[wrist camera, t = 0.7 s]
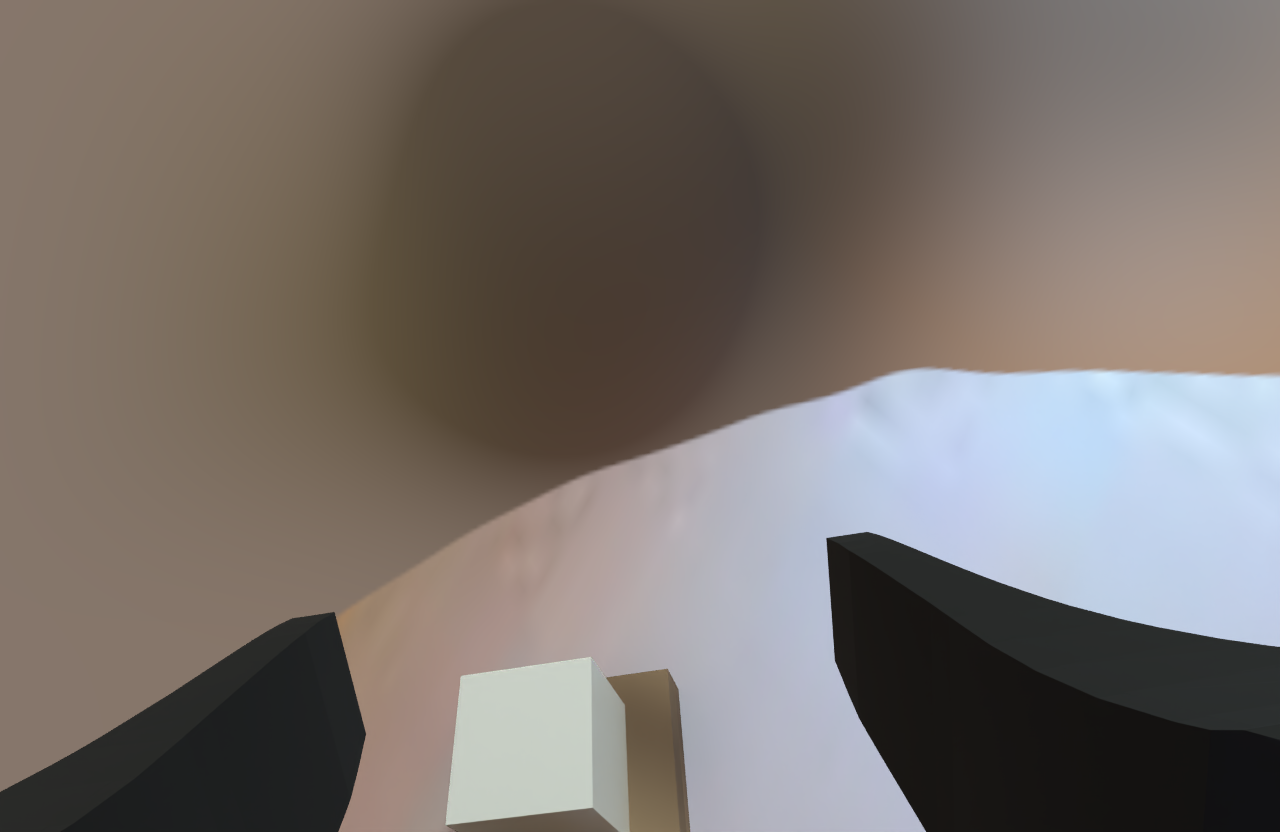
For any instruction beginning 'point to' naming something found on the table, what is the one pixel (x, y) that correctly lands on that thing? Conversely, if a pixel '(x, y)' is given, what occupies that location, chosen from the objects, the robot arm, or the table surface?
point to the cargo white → (539, 752)
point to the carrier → (654, 752)
